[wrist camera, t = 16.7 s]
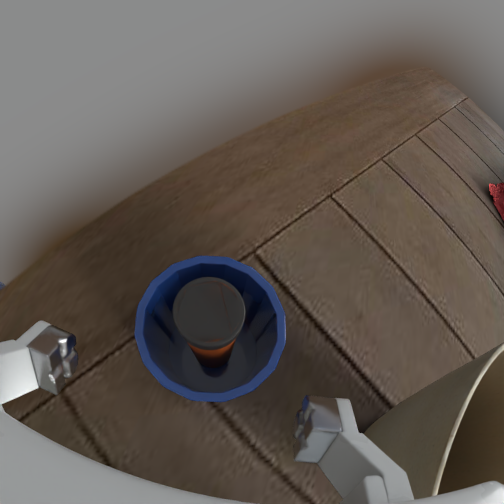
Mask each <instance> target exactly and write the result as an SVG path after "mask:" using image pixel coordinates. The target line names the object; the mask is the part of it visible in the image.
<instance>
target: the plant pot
mask: <svg viewBox="0 0 504 504" xmlns="http://www.w3.org/2000/svg"><path fill="white" fill-rule="evenodd" d="M364 435H365V436H366V437H367V438H368V439H369V440H370V441H372V442H373V443H374V444H375V445H376V446H377V447H378V448H379V449H380V450H381V451H383V452H384V453H385V454H386V455H387V456H388V457H389V458H390V459H391V460H393V461H394V462H395V463H396V464H397V465H398V466H399V467H400V468H402V469H403V470H404V471H405V472H406V474H407V477H408V480H409V483H410V487H411V490H412V493H413V497H414V500H415V499H421V498H426V497H431V496H436V495H440V494H445V493H449V492H453V491H457V490H461V489H464V488H468V487H471V486H475V485H478V484H481V483H484V482H488V481H497V482H499V483H501V484H503V485H504V343H502V344H500V345H499V346H497V347H495V348H493V349H492V350H490V351H488V352H487V353H485V354H483V355H481V356H480V357H478V358H476V359H474V360H472V361H471V362H469V363H467V364H465V365H463V366H462V367H460V368H458V369H456V370H454V371H452V372H451V373H449V374H447V375H445V376H444V377H442V378H440V379H439V380H437V381H435V382H433V383H432V384H430V385H428V386H427V387H425V388H423V389H422V390H420V391H419V392H417V393H415V394H414V395H412V396H410V397H409V398H407V399H406V400H404V401H403V402H401V403H399V404H398V405H397V406H395V407H394V408H392V409H391V410H390V411H388V412H387V413H385V414H384V415H383V416H382V417H380V418H379V419H378V420H377V421H375V422H374V423H373V424H372V425H371V426H370V427H369V428H368V429H367V430H366V431H365V433H364Z"/></svg>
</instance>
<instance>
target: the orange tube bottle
mask: <svg viewBox="0 0 504 504" xmlns="http://www.w3.org/2000/svg"><path fill="white" fill-rule="evenodd" d="M173 319H174V323H175V325H176V327H177V329H178V331H179V333H180V334H181V336H182V337H183V338H184V339H185V340H186V341H187V343H188V345H189V346H190V348H191V350H192V352H193V353H194V355H195V357H196V359H197V360H198V361H199V363H201V364H202V365H203V366H205V367H209V368H217V367H220V366H222V365H224V364H225V363H226V362H227V361H228V360H229V358H230V356H231V353H232V350H233V347H234V344H235V340H236V338H237V336H238V335H239V333H240V331H241V329H242V326H243V323H244V320H245V305H244V301H243V298H242V296H241V295H240V293H239V292H238V290H237V289H236V288H235V287H234V286H233V285H231V284H230V283H229V282H227V281H225V280H222V279H220V278H216V277H202V278H198V279H195V280H193V281H191V282H189V283H188V284H186V285H185V286H184V287H183V288H182V289H181V290H180V291H179V293H178V294H177V296H176V298H175V300H174V304H173Z"/></svg>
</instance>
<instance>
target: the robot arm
mask: <svg viewBox="0 0 504 504" xmlns="http://www.w3.org/2000/svg"><path fill="white" fill-rule="evenodd" d="M75 345H76V337H75V336H74V335H73V334H72V333H69V332H67V331H65V330H63V329H60V328H58V327H56V326H54V325H51V324H49V323H47V322H45V321H38V322H37V323H36V324H35V325H34V326H32V327H31V328H30V329H29V330H28V331H27V332H25V333H24V334H23V335H22V336H21V337H20V338H18V339H17V340H16V341H15V340H9V341H4V342H0V504H257V503H249V502H242V501H235V500H229V499H223V498H217V497H212V496H207V495H202V494H197V493H193V492H189V491H184V490H180V489H176V488H173V487H169V486H165V485H162V484H158V483H155V482H152V481H148V480H145V479H142V478H139V477H136V476H133V475H130V474H127V473H125V472H122V471H119V470H116V469H114V468H111V467H109V466H106V465H104V464H101V463H99V462H96V461H94V460H92V459H89V458H87V457H85V456H83V455H80V454H78V453H76V452H74V451H72V450H70V449H68V448H66V447H64V446H62V445H60V444H58V443H56V442H54V441H52V440H50V439H48V438H46V437H45V436H43V435H41V434H39V433H37V432H36V431H34V430H32V429H31V428H29V427H27V426H25V425H24V424H22V423H21V422H19V421H17V420H16V419H14V418H13V417H11V416H10V415H8V414H6V413H5V411H4V409H3V407H2V405H1V404H3V403H5V402H8V401H10V400H12V399H15V398H17V397H19V396H21V395H24V394H26V393H28V392H30V391H32V390H35V389H37V388H39V387H41V388H43V389H45V390H47V391H49V392H51V393H53V394H56V395H58V393H59V392H60V391H61V389H62V388H63V387H64V386H65V384H66V383H65V379H66V378H69V377H72V375H73V374H74V373H75V371H76V368H77V365H78V353H77V352H76V350H75V349H74V346H75ZM38 386H39V387H38ZM293 437H294V438H295V439H296V442H295V444H294V446H293V451H294V461H299V462H309V463H318V466H319V467H320V468H321V470H322V471H323V472H324V474H325V475H326V477H327V478H328V479H329V481H330V482H331V483H332V485H333V486H334V487H335V489H336V490H337V491H338V493H339V494H340V495H341V497H342V498H343V500H342V501H341V502H340V503H339V504H504V485H503V484H501V483H499V482H497V481H488V482H484V483H481V484H478V485H475V486H471V487H468V488H464V489H461V490H457V491H453V492H449V493H445V494H440V495H436V496H431V497H426V498H421V499H415V500H414V497H413V493H412V490H411V487H410V483H409V480H408V477H407V474H406V472H405V471H404V470H403V469H402V468H400V467H399V466H398V465H397V464H396V463H395V462H394V461H393V460H391V459H390V458H389V457H388V456H387V455H386V454H385V453H384V452H383V451H381V450H380V449H379V448H378V447H377V446H376V445H375V444H374V443H373V442H372V441H370V440H369V439H368V438H367V437H366V436H365V435H364V434H363V433H359V432H358V428H357V425H356V421H355V417H354V413H353V410H352V406H351V402H350V400H349V399H342V398H329V397H320V396H311V395H306V396H305V397H304V399H303V401H302V409H301V410H299V411H298V412H297V414H296V416H295V419H294V423H293Z"/></svg>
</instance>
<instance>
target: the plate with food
mask: <svg viewBox="0 0 504 504" xmlns="http://www.w3.org/2000/svg"><path fill="white" fill-rule="evenodd" d="M489 189H490V194H491V195H492V196H494V198H493V200H495V201H494V202H493V203H494V205H495V206H496V208H497V209H498V211H499V213H500V215H501V216H502V219H503V220H504V183H500V184H497V187H496V186H495V185H494V184H489Z"/></svg>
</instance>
